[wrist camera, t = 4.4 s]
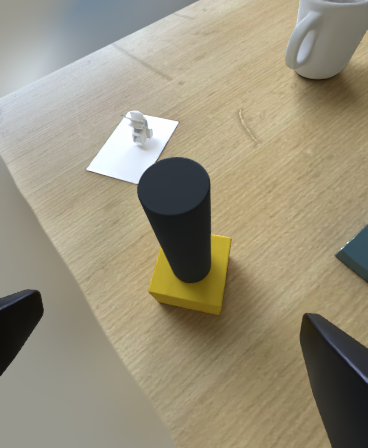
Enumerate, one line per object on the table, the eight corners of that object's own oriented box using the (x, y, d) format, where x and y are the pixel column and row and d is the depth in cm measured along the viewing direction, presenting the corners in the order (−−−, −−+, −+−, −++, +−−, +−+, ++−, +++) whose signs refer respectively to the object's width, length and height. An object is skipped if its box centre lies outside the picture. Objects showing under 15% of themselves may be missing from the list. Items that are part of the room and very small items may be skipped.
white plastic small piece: (156, 133, 29) (150, 110, 26) (146, 149, 28) (139, 126, 25) (133, 128, 30) (125, 105, 27) (123, 143, 29) (114, 121, 26)
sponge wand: (219, 315, 19) (230, 257, 8) (157, 301, 20) (87, 231, 9) (229, 255, 21) (247, 142, 10) (172, 245, 22) (132, 132, 11)
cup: (306, 107, 28) (337, 25, 21) (255, 79, 32) (267, 1, 25) (362, 66, 31) (407, -19, 24) (309, 44, 34) (334, -35, 27)
